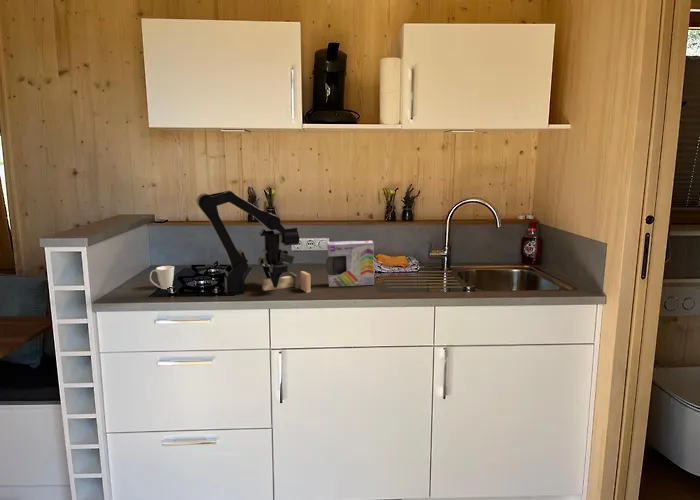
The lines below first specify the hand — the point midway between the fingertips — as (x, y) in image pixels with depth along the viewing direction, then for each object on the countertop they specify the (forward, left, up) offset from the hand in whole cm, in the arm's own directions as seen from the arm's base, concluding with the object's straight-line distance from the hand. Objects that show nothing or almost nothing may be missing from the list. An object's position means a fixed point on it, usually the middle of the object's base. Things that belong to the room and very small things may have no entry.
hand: (273, 285), depth 195 cm
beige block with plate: (+2, 0, -1) cm, 3 cm away
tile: (+10, -9, -1) cm, 13 cm away
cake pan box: (+29, -9, -1) cm, 30 cm away
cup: (-38, +21, -1) cm, 43 cm away
